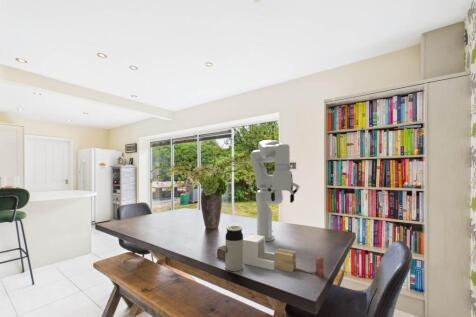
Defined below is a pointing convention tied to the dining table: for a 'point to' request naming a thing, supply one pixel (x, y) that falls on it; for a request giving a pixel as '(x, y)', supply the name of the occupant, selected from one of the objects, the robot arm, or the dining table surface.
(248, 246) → the white l-shaped block
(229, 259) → the travel mug
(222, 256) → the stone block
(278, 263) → the oak block with cord
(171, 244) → the dining table surface
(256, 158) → the robot arm
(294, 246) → the dining table surface
